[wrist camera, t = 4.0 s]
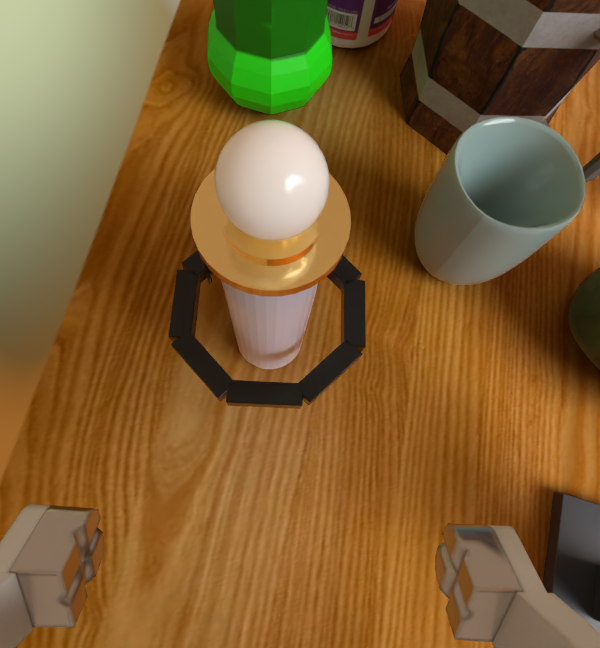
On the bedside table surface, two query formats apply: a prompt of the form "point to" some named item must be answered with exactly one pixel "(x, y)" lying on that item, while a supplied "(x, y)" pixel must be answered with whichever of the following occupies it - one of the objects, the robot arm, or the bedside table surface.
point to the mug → (497, 63)
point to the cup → (497, 200)
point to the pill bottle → (359, 21)
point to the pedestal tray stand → (575, 556)
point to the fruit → (587, 317)
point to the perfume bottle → (270, 235)
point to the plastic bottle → (270, 51)
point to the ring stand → (258, 391)
